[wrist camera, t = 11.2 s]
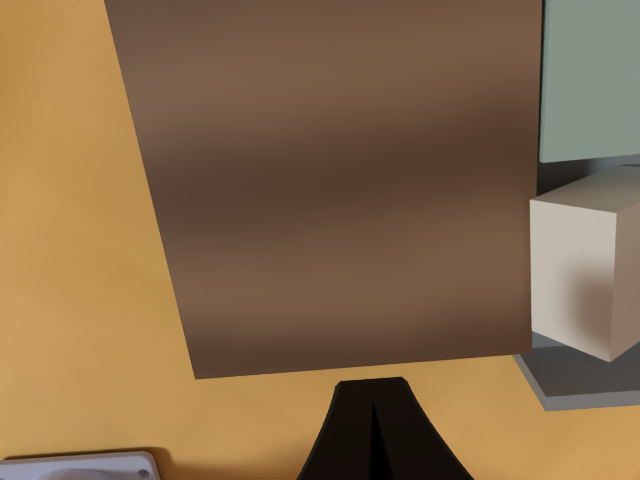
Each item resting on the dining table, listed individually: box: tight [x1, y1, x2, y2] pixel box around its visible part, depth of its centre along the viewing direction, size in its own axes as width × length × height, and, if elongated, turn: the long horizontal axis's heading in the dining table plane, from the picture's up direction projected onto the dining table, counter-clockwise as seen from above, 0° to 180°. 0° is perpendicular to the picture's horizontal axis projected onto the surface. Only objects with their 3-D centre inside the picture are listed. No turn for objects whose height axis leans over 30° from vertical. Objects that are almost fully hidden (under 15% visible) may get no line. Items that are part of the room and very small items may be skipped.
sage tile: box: [537, 0, 640, 163], centre depth 15 cm, size 5×5×3 cm
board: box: [104, 0, 542, 379], centre depth 17 cm, size 13×12×3 cm
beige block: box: [530, 165, 640, 362], centre depth 16 cm, size 5×5×3 cm
